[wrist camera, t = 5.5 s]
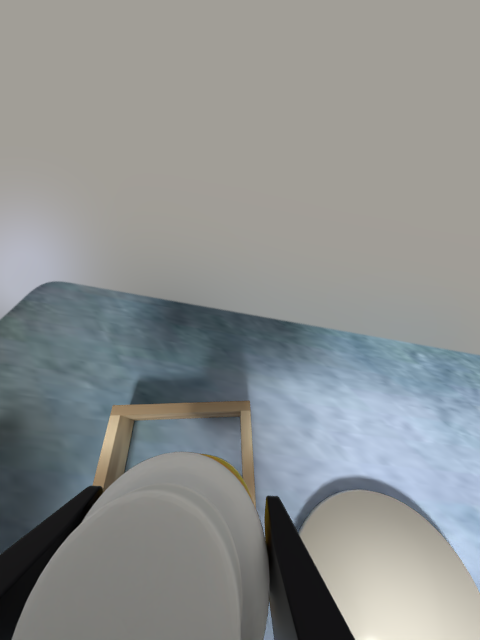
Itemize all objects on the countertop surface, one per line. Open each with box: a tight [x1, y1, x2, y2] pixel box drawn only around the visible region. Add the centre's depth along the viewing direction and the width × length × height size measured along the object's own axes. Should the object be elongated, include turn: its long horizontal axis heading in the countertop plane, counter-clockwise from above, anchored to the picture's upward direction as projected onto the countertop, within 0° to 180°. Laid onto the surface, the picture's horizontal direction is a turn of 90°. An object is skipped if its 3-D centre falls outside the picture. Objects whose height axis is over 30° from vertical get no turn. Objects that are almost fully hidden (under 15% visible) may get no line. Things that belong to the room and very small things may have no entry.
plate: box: [298, 489, 480, 640], centre depth 15 cm, size 13×13×1 cm
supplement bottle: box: [12, 452, 270, 640], centre depth 8 cm, size 6×6×10 cm
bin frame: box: [93, 401, 256, 508], centre depth 17 cm, size 12×12×3 cm
